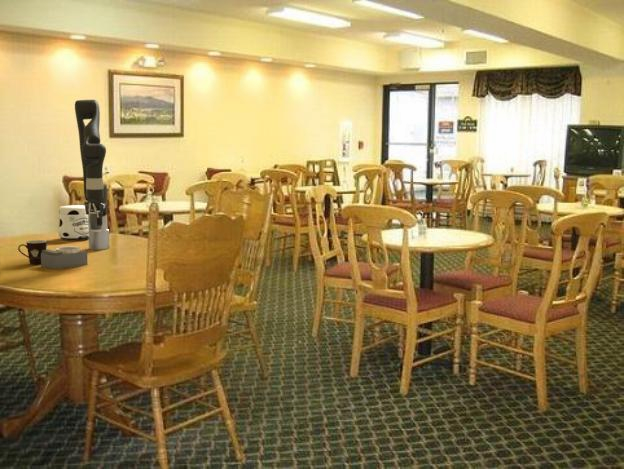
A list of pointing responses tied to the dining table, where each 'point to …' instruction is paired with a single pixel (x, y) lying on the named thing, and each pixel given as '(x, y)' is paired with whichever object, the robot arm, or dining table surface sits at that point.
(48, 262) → the camera body
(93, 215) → the lens
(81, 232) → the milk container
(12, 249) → the dining table surface
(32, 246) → the coffee mug
